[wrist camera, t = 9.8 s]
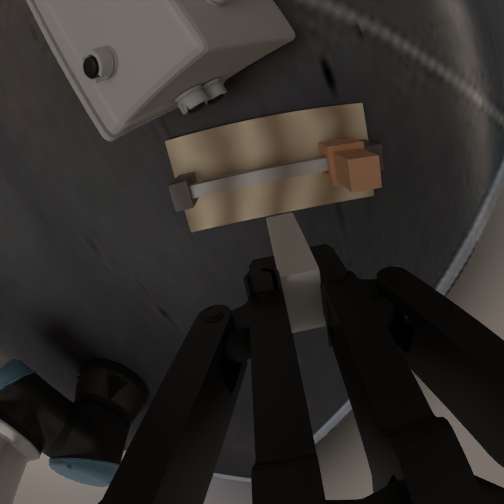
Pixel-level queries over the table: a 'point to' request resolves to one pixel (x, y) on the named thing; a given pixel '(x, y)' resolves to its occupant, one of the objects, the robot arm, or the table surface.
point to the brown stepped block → (350, 165)
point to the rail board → (262, 165)
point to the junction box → (155, 52)
